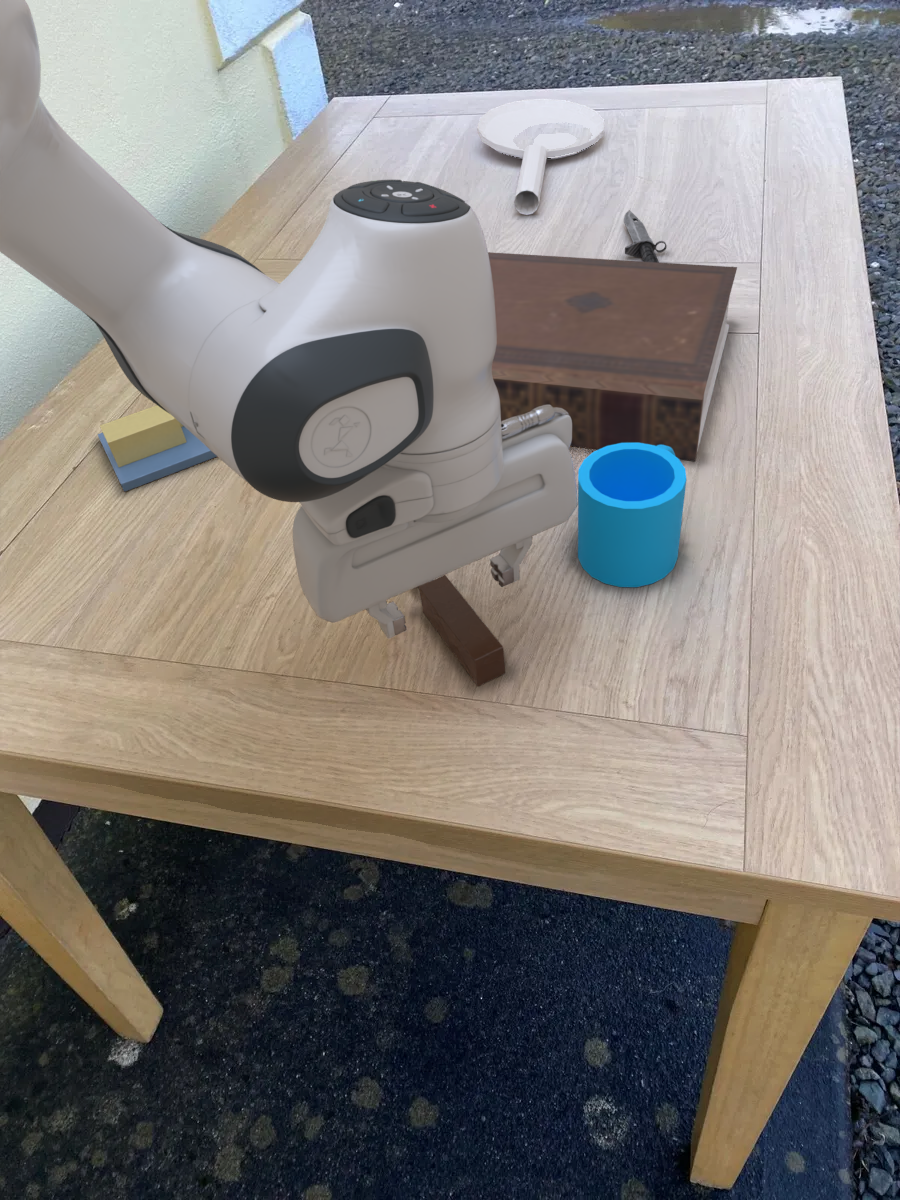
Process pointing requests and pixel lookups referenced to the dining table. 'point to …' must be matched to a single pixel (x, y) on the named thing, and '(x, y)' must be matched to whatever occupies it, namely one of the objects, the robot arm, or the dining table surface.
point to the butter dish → (160, 462)
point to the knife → (640, 240)
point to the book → (611, 345)
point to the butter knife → (462, 630)
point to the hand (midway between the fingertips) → (450, 603)
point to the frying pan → (536, 139)
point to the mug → (630, 513)
